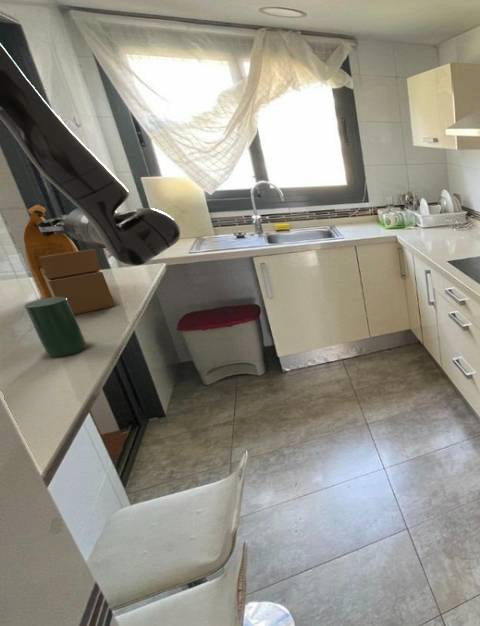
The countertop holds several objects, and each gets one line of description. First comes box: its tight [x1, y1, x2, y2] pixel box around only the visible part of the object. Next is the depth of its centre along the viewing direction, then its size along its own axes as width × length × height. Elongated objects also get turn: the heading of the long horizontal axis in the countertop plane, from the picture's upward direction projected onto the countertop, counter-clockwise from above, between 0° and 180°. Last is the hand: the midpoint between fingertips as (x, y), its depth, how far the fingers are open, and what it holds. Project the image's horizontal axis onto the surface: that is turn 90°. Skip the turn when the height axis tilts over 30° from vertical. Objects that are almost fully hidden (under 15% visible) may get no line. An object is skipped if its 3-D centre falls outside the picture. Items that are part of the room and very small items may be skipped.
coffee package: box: [23, 204, 79, 299], centre depth 113 cm, size 10×12×22 cm
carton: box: [40, 268, 116, 315], centre depth 108 cm, size 12×9×9 cm
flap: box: [39, 248, 102, 279], centre depth 101 cm, size 6×9×1 cm
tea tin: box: [24, 297, 88, 358], centre depth 86 cm, size 5×5×10 cm
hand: (65, 220), depth 95 cm, fingers closed
